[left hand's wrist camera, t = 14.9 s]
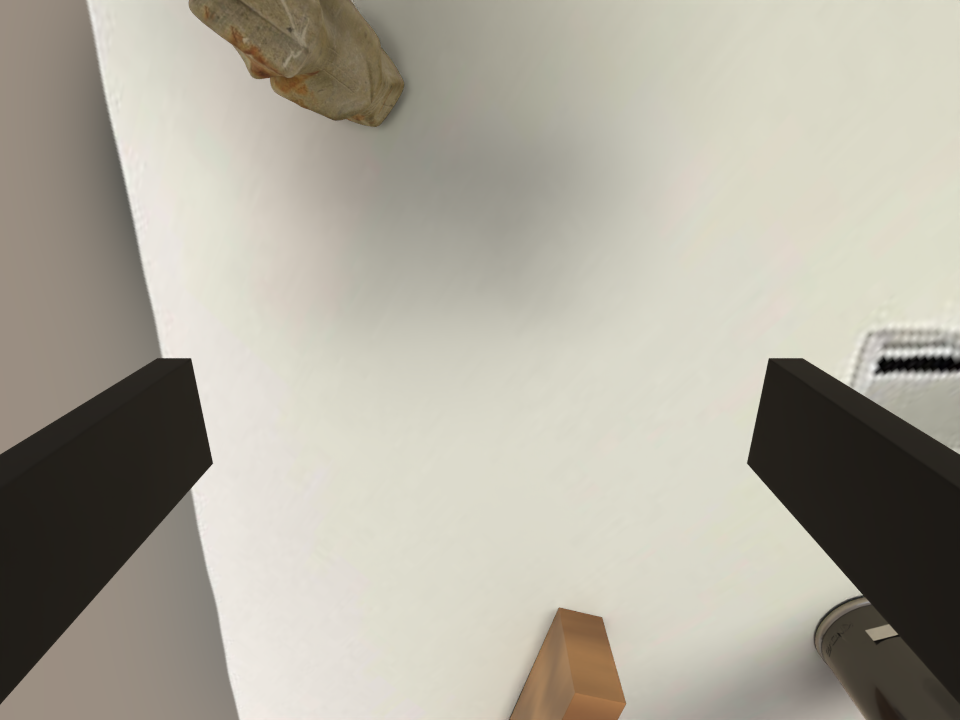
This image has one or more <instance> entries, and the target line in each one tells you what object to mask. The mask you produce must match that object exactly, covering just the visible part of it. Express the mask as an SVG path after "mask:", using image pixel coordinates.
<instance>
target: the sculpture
mask: <svg viewBox="0 0 960 720" xmlns="http://www.w3.org/2000/svg"><path fill="white" fill-rule="evenodd" d="M189 8H190V10H191V11H192V13H193V14H194V15H195V16H196V17H197V18H198V19H199V20H201V21H202V22H203V23H204V24H205V25H207V26H208V27H209V28H211V29H212V30H213V31H214V32H216V33H217V34H218V35H220V36H221V37H222V38H224V39H225V40H227V41H228V42H229V43H231V44H232V45H233V46H234V48H235V49H236V50H237V51H238V53H239V54H240V56H241V57H242V59H243V60H244V62H245V64H246V67H247V69H248V71H249V73H250V75H251V76H252V77H253V78H255V79H264V78H270V82H271V87H272V89H273V90H274V92H276V93H277V94H279V95H280V96H282V97H284V98H286V99H288V100H290V101H292V102H294V103H296V104H298V105H299V106H301V107H303V108H306V109H309V110H312V111H314V112H316V113H319V114H321V115H323V116H325V117H328V118H330V119H332V120H343V119H348V120H350V121H353V122H356V123H359V124H362V125H366V126H371V127H377V126H379V125H380V124H381V123H382V122H383V120H384V119H385V118H386V117H387V115H388V114H389V112H390V111H391V110H392V108H393V107H394V105H395V104H396V102H397V100H398V98H399V97H400V95H401V93H402V91H403V88H404V82H403V79H402V77H401V75H400V74H399V72H398V70H397V68H396V66H395V65H394V64H393V62H392V61H391V59H390V58H389V56H388V55H387V54H386V53H385V51H384V50H383V49H382V48H381V45H380V41H379V38H378V37H377V35H376V33H375V32H374V30H373V29H372V28H371V27H370V25H369V24H368V23H367V22H366V21H365V19H364V18H363V17H362V16H361V14H360V13H359V11H358V10H357V9H356V7H355V6H354V5H353V3H352V2H351V0H189Z"/></svg>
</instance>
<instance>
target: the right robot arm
mask: <svg viewBox="0 0 960 720" xmlns="http://www.w3.org/2000/svg"><path fill="white" fill-rule="evenodd" d="M815 645H816V649H817V651H818V653H819V654H820V656H821V657H822V659H823V660H824V662H825V663H826V664H827V665H828V666H829V667H830V668H831V670H832V671H833V673H834V674H835V676H836V677H837V678H838V680H839V681H840V683H841V684H842V686H843V687H844V689H845V690H846V692H847V693H848V695H849V696H850V698H851V699H852V701H853V702H854V704H855V705H856V706H857V708H858V709H859V711H860V712H861V714H862V715H863V717H864V718H865V719H866V720H960V704H959V703H958V702H957V701H956V700H955V698H954V697H953V696H952V695H951V694H950V693H949V692H948V691H947V689H946V688H945V687H944V686H943V685H942V684H941V683H940V681H939V680H938V679H937V678H936V677H935V676H934V675H933V674H932V672H931V671H930V670H929V669H928V668H927V667H926V666H925V664H924V663H923V662H922V661H921V660H920V659H919V658H918V657H917V655H916V654H915V653H914V652H913V651H912V650H911V649H910V647H909V646H908V645H907V644H906V643H905V642H904V641H903V640H902V638H901V637H900V636H899V635H898V634H897V633H896V632H895V630H894V629H893V628H892V627H891V626H890V625H889V624H888V623H887V621H886V620H885V619H884V618H883V617H882V616H881V615H880V613H879V612H878V611H877V610H876V609H875V608H874V607H873V606H872V604H871V603H870V602H869V601H868V600H867V599H866V598H865V597H864V598H859V599H856V600H852V601H850V602H847V603H845V604H843V605H841V606H840V607H838V608H836V609H835V610H834V611H832V612H831V613H830V614H829V615H828V616H827V617H826V618H825V619H824V620H823V621H822V623H821V624H820V626H819V628H818V630H817V632H816V636H815Z"/></svg>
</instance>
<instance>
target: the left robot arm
mask: <svg viewBox="0 0 960 720" xmlns="http://www.w3.org/2000/svg"><path fill="white" fill-rule="evenodd" d="M212 464H213V461H212V457H211V452H210V447H209V442H208V437H207V433H206V428H205V423H204V418H203V413H202V408H201V404H200V399H199V394H198V389H197V384H196V380H195V375H194V370H193V365H192V360H191V358H157V359H156V360H154V361H152V362H151V363H149V364H147V365H146V366H144V367H142V368H141V369H139V370H138V371H136V372H134V373H133V374H131V375H129V376H128V377H126V378H125V379H123V380H121V381H120V382H118V383H116V384H115V385H113V386H112V387H110V388H108V389H107V390H105V391H103V392H102V393H100V394H98V395H97V396H95V397H94V398H92V399H90V400H89V401H87V402H85V403H84V404H82V405H80V406H79V407H77V408H76V409H74V410H72V411H71V412H69V413H67V414H66V415H64V416H62V417H61V418H59V419H58V420H56V421H54V422H53V423H51V424H49V425H48V426H46V427H45V428H43V429H41V430H40V431H38V432H36V433H35V434H33V435H31V436H30V437H28V438H27V439H25V440H23V441H22V442H20V443H18V444H17V445H15V446H14V447H12V448H10V449H9V450H7V451H5V452H4V453H2V454H0V704H1V703H2V702H3V701H4V700H5V698H6V697H7V696H8V695H9V694H10V693H11V692H12V691H13V689H14V688H15V687H16V686H17V685H18V684H19V683H20V681H21V680H22V679H23V678H24V677H25V676H26V675H27V674H28V672H29V671H30V670H31V669H32V668H33V667H34V666H35V664H36V663H37V662H38V661H39V660H40V659H41V658H42V657H43V655H44V654H45V653H46V652H47V651H48V650H49V649H50V647H51V646H52V645H53V644H54V643H55V642H56V641H57V639H58V638H59V637H60V636H61V635H62V634H63V633H64V632H65V630H66V629H67V628H68V627H69V626H70V625H71V624H72V623H73V621H74V620H75V619H76V618H77V617H78V616H79V615H80V613H81V612H82V611H83V610H84V609H85V608H86V607H87V606H88V604H89V603H90V602H91V601H92V600H93V599H94V598H95V596H96V595H97V594H98V593H99V592H100V591H101V590H102V589H103V587H104V586H105V585H106V584H107V583H108V582H109V581H110V579H111V578H112V577H113V576H114V575H115V574H116V573H117V572H118V570H119V569H120V568H121V567H122V566H123V565H124V564H125V562H126V561H127V560H128V559H129V558H130V557H131V556H132V554H133V553H134V552H135V551H136V550H137V549H138V548H139V547H140V545H141V544H142V543H143V542H144V541H145V540H146V539H147V538H148V536H149V535H150V534H151V533H152V532H153V531H154V530H155V528H156V527H157V526H158V525H159V524H160V523H161V522H162V521H163V519H164V518H165V517H166V516H167V515H168V514H169V513H170V511H171V510H172V509H173V508H174V507H175V506H176V505H177V504H178V502H179V501H180V500H181V499H182V498H183V497H184V496H185V495H186V493H187V492H188V491H189V490H190V489H191V488H192V487H193V485H194V484H195V483H196V482H197V481H198V480H199V479H200V478H201V476H202V475H203V474H204V473H205V472H206V471H207V470H208V468H209V467H210V466H211V465H212ZM747 464H748V465H749V466H750V467H751V468H752V470H753V471H754V472H755V473H756V474H757V475H758V476H759V478H760V479H761V480H762V481H763V482H764V483H765V484H766V485H767V487H768V488H769V489H770V490H771V491H772V492H773V493H774V495H775V496H776V497H777V498H778V499H779V500H780V501H781V502H782V504H783V505H784V506H785V507H786V508H787V509H788V510H789V512H790V513H791V514H792V515H793V516H794V517H795V518H796V519H797V521H798V522H799V523H800V524H801V525H802V526H803V527H804V528H805V530H806V531H807V532H808V533H809V534H810V535H811V536H812V538H813V539H814V540H815V541H816V542H817V543H818V544H819V545H820V547H821V548H822V549H823V550H824V551H825V552H826V553H827V555H828V556H829V557H830V558H831V559H832V560H833V561H834V562H835V564H836V565H837V566H838V567H839V568H840V569H841V570H842V572H843V573H844V574H845V575H846V576H847V577H848V578H849V579H850V581H851V582H852V583H853V584H854V585H855V586H856V587H857V589H858V590H859V591H860V592H861V593H862V594H863V595H864V596H865V598H866V599H867V600H868V601H869V602H870V603H871V604H872V606H873V607H874V608H875V609H876V610H877V611H878V612H879V613H880V615H881V616H882V617H883V618H884V619H885V620H886V621H887V623H888V624H889V625H890V626H891V627H892V628H893V629H894V630H895V632H896V633H897V634H898V635H899V636H900V637H901V638H902V640H903V641H904V642H905V643H906V644H907V645H908V646H909V647H910V649H911V650H912V651H913V652H914V653H915V654H916V655H917V657H918V658H919V659H920V660H921V661H922V662H923V663H924V664H925V666H926V667H927V668H928V669H929V670H930V671H931V672H932V674H933V675H934V676H935V677H936V678H937V679H938V680H939V681H940V683H941V684H942V685H943V686H944V687H945V688H946V689H947V691H948V692H949V693H950V694H951V695H952V696H953V697H954V698H955V700H956V701H957V702H958V703H959V704H960V454H958V453H956V452H955V451H953V450H951V449H950V448H948V447H947V446H945V445H943V444H942V443H940V442H938V441H937V440H935V439H933V438H932V437H930V436H929V435H927V434H925V433H924V432H922V431H920V430H919V429H917V428H915V427H914V426H912V425H911V424H909V423H907V422H906V421H904V420H902V419H901V418H899V417H898V416H896V415H894V414H893V413H891V412H889V411H888V410H886V409H884V408H883V407H881V406H880V405H878V404H876V403H875V402H873V401H871V400H870V399H868V398H867V397H865V396H863V395H862V394H860V393H858V392H857V391H855V390H853V389H852V388H850V387H849V386H847V385H845V384H844V383H842V382H840V381H839V380H837V379H835V378H834V377H832V376H831V375H829V374H827V373H826V372H824V371H822V370H821V369H819V368H818V367H816V366H814V365H813V364H811V363H809V362H808V361H806V360H804V359H803V358H769V360H768V365H767V370H766V375H765V380H764V384H763V389H762V394H761V399H760V404H759V408H758V413H757V418H756V423H755V428H754V433H753V437H752V442H751V447H750V452H749V457H748V461H747Z"/></svg>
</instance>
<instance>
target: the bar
mask: <svg viewBox="0 0 960 720" xmlns="http://www.w3.org/2000/svg"><path fill="white" fill-rule="evenodd" d="M625 705H626V701H625V698H624V694H623V690H622V687H621V683H620V680H619V676H618V673H617V669H616V666H615V662H614V658H613V655H612V651H611V648H610V644H609V641H608V637H607V633H606V630H605V626H604V623H603V619H602V617H598V616H594V615H589V614H585V613H580V612H576V611H572V610H567V609H563V608H559V609H558V611H557V613H556V615H555V618H554V620H553V622H552V624H551V627H550V629H549V631H548V634H547V636H546V638H545V640H544V643H543V645H542V647H541V649H540V652H539V654H538V656H537V659H536V661H535V663H534V665H533V668H532V670H531V672H530V675H529V677H528V679H527V681H526V684H525V686H524V688H523V690H522V693H521V695H520V697H519V700H518V702H517V704H516V706H515V709H514V711H513V713H512V715H511V718H510V720H618V718H619V716H620V714H621V712H622V711H623V709H624V707H625Z"/></svg>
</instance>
